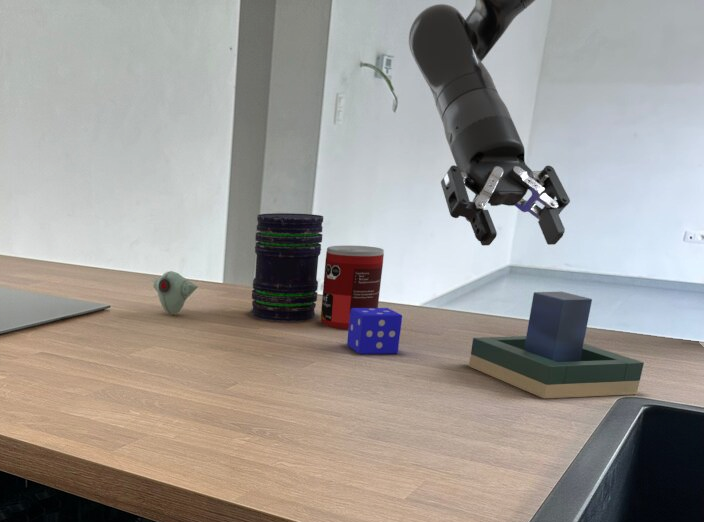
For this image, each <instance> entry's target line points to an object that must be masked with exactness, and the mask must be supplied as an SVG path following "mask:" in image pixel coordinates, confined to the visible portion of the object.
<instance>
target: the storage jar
mask: <svg viewBox="0 0 704 522" xmlns="http://www.w3.org/2000/svg"><path fill="white" fill-rule="evenodd" d="M256 218H257V219H256V221H257V225H256V231H257V232H255V239H254V240H255V247H254V253H255V255H256V260H255V272H254V273H255V275H254V278H253V279H252V290H251V299H252V302H251V305H252V310H251V317H253V318H254V319H259V320H263V321H268V322H269V321H270V322H281V323H298V322H299V323H300V322H307V321H312V320H314V319H315V317H316V312H315V309H316V308H317V307H316V306H317V304H316V303H315V302H317V301H318V294H319V293H318V292H317V291H318V287H319V282H318V280H317V276H318V268H319V257H320V255H321V252H322V244H321V243H323V236H324V235H323V234H322V233H323V228H324V227H323V222H324V216H323V215H320V214H312V213H288V212H287V213H286V212H285V213H284V212H281V213H280V212H279V213H277V212H276V213H261V214H257V217H256Z"/></svg>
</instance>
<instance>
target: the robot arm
mask: <svg viewBox="0 0 704 522" xmlns="http://www.w3.org/2000/svg"><path fill="white" fill-rule="evenodd" d="M535 1H536V0H475V4H474V7H473V8H472V10H471V11H470V13H469V14H468V15H467V17H466V18H465V17H464V16H463V14H462V13H461V11H459V10H458V9H457V8H456V7H454V6H452V5H450V4H445V3H440V4H438V3H437V4H433V5H431V6H428V7H426V8H425V9H423V10H422V11H421V12H420V13H419V14H418V15H417V16H416V18H415V19H414V20H413V22H412V23H411V27H410V29H409V33H408V46H409V51H410V53H411V56H412V58H413V60H414V63H415V65H416V66H417V68H418V69H419V72H420V73H421V75H422V77H423V79H424V80H425V82H426V84H427V86H428V87H429V90H430V92H431V94H432V97H433V100H434V103H435V107H436V109H437V112H438V115H439V117H440V120H441V122H442V126H443V130H444V136H445V139H446V142H447V144H448V147H449V149H450V152H451V155H452V158H453V160H454V163H455V165H453V164H452V165H451V166H450V167H449V168H448V170H447V172H446V173H445V174H444V176H443V178H442V179H441V181H440V184H441V189H442V192H443V195H444V199H445V202H446V205H447V209H448V212H449V215H450V217H452V218H454V219H458V218H460V217H463V218H464V219H465V220H466V221H467V222H468V223H470V226H471V229H472V231H473V233H474V236H475V238H476V240H477V241H478V242H479V243H480V245H481V246H483V247H484V246H490V245H491V244H492V243H493V241H495V239H496V238H497V235H498V233H497V229H496V227H495V224H494V222H493V219H492V216H491V214H490V212H489V209H485V208H486V206H487V205H488V204H489V205H490V206H491V207H498V206H501V205H503V206H507V207H513V206H514V207H515V208H517V209H518V210H519V211H521V212H522V213H529V214H531V215H532V216H533V217H535V218H536V219H537V220H538V221H537V223H538V225H539V228H540V230H541V232H542V235H543V238H544V240H545V242H546V244H547V245H549V246H552V245H556V244H557V243H559V241H560V240H561V239H562V238H563V236H564V234H565V230H566V229H565V226H564V224H563V222H562V219H561V217H560V214H561V213H562V211H563V210H564V209H565V208H566V207H567V206H568V205H569V204H570V203H571V199H570V197H569V195H568V194H567V192H566V189H565V188H564V186H563V184H562V182H561V179H560V178H559V176H558V174H557V172H556V170H555V168H554V167H553V166H551V165H545V166H544V168H543V169H542V170H532V169H531V168H530V167H529V166H528V165H527V163H526V161H525V155H526V153H525V152H526V151H525V150H526V149H525V146H524V144H523V142H522V139H521V137H520V135H519V133H518V130H517V127H516V125H515V122H514V121H513V119H512V118H513V117H512V116H511V113H510V111H509V109H508V107H507V105H506V103H505V102H504V100H503V99H502V97H501V96H500V94H499V92H498V90H497V87H496V85H495V83H494V80H493V78H492V76H491V74H490V72H489V71H488V69H487V67H486V66H485V64H484V63H483V61H484V59H485V58H486V57H487V56H488V54H489V53H490V52H491V50H492V49H493V48H494V46H495V45H496V44H497V43H498V41H499V40H500V39H501V38H502V36H503V35H504V34H505V32H506V31H507V30H508V28H509V27H510V25H511V24H512V23H513V21H514V20H515V19H516V18H517V17H518V16H519V15H520V14H522V13H523V12H524V11H525V10H526V9H528V7H530V6H531V5H532V4H534V2H535ZM467 189H468V190H470V191H471V192H472V193H473V194H474V197H473V198H472V201H470V198H469V197H470V196H469V194H468V190H467ZM528 191H530V192H531V196H530V197H529V198H528V199H527V200H526V199H524V197H525V196H526V194H527V193H528ZM536 202H539V203H540V204H542V205H543V207H542V208H541V207H540V206H539V205H537V204H536Z"/></svg>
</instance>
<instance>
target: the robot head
mask: <svg viewBox="0 0 704 522" xmlns="http://www.w3.org/2000/svg"><path fill="white" fill-rule="evenodd" d="M152 286H153V288H154V290H155V291H156V292H157V296H158V300H159V302H160V304H161V306H162V308H163V310H164V311H165V312H166V313H167V314H170V315H172V316H173V315H176V314H178V313H180V312H181V310H182V309H183V307H184V306H185V302H186V300H187V299H188V298H189V297H190V296H191V295H192V294H193V293H194V292H195V291H196V290H197V289H198V287H199V286H198V285H196V284H195V283H193V282H192V281H189V279H188V278H186V277H184V276H183V275H181V274H180V273H179V272H175V271H173V270H169V271H166V272H164V273H163V274H162V275H161V276H160V277H159V278H156V279H153V285H152Z"/></svg>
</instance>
